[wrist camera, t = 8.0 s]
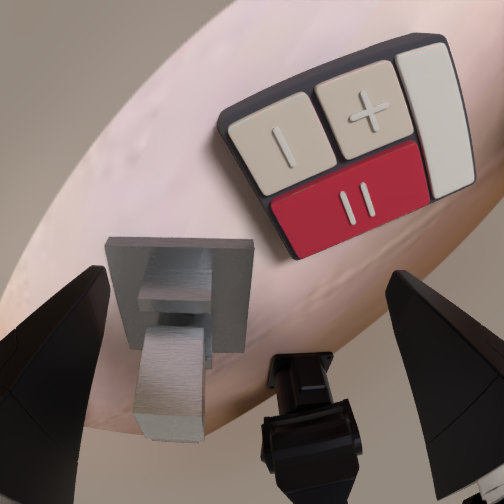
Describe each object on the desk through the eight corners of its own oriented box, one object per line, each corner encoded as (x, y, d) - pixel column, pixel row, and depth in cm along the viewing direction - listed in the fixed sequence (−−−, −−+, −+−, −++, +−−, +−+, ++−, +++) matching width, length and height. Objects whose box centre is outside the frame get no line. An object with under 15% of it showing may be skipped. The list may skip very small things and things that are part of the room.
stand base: (243, 343, 31) (246, 388, 27) (132, 339, 30) (123, 383, 26) (253, 239, 24) (259, 287, 20) (108, 236, 23) (87, 282, 19)
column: (205, 363, 25) (204, 443, 19) (155, 361, 24) (146, 439, 19) (203, 326, 22) (201, 417, 16) (147, 324, 22) (132, 412, 16)
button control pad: (212, 126, 16) (452, 33, 12) (217, 110, 20) (417, 31, 16) (295, 270, 22) (483, 187, 18) (288, 235, 25) (454, 163, 22)
